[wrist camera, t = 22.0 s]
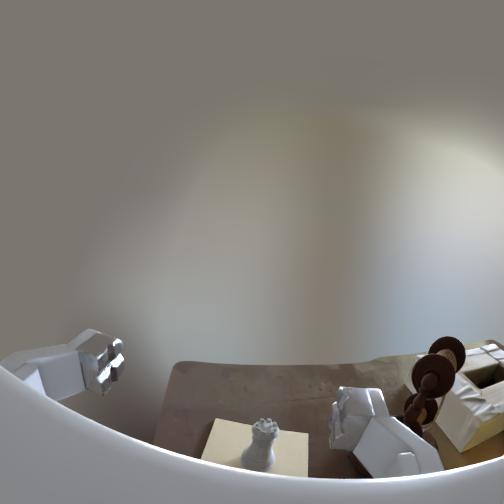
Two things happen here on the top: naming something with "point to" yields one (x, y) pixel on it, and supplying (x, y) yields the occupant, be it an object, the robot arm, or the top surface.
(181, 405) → the top surface
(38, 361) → the robot arm
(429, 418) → the scroll
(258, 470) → the rook chess piece
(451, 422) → the box
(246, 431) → the linen mat
